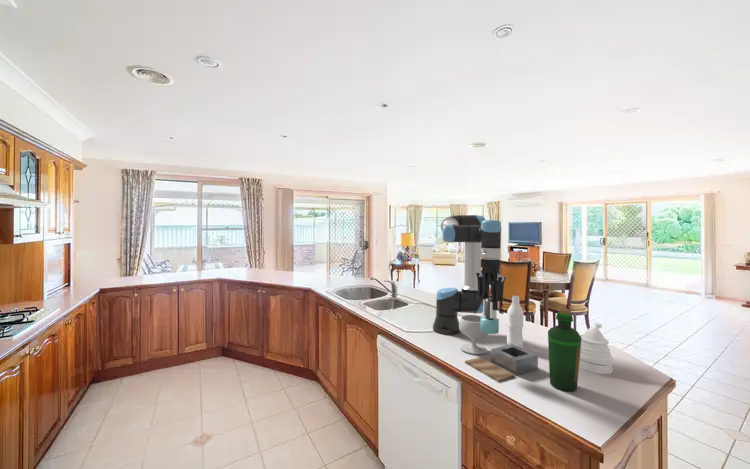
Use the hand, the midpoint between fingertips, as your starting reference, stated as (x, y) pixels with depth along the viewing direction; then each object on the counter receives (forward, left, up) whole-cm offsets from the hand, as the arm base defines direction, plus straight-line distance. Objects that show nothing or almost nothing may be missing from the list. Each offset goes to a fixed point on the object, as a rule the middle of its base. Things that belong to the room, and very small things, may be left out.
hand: (489, 316), depth 124 cm
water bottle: (-12, +29, -22) cm, 38 cm away
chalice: (-18, +9, -22) cm, 30 cm away
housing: (+2, +12, -22) cm, 25 cm away
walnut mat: (0, 0, -22) cm, 22 cm away
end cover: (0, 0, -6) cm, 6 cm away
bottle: (+21, +15, -22) cm, 34 cm away
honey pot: (+16, +42, -22) cm, 50 cm away
